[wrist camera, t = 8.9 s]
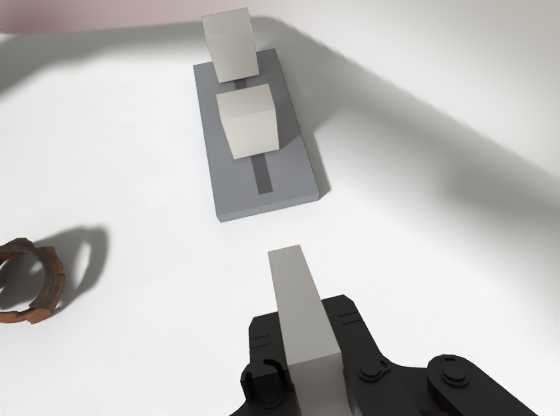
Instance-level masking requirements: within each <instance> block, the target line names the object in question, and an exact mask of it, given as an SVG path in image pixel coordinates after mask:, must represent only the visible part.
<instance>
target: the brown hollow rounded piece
mask: <svg viewBox="0 0 560 416" xmlns="http://www.w3.org/2000/svg"><path fill="white" fill-rule="evenodd" d="M20 253H27V254H30V255H32V256H34V257H36V258H37V259H38V260H39V261H40V262H41V263H42V265H43V267H44V270H45V276H46V278H45V284H44V287H43V289H42V291H41V293H40V294H39V296H38V297H37V298H36V299H35V300H34V301H33V302H32V303H30V304H29V307H31V308H29V309H27V310H25V311H22V312H18V311H9V312H0V323H16V322H22V321H25V320H27V321H29V322H31V324H34V323H38V322H40V321H42V320H44V319H45V318H47V317H49V316H50V315H51V313H52V311H51V310H53V309H55V307H56V305H57V303H58V301H59V299H60V297H61V294H62V291H63V288H64V282H65V275H64V274H62V271H63V269H64V268H63V266H62V263H61V262H60V260H59V259H58V257H57V255H56V253H55V249H54V247H53V246H51V247H40V248H34V244H33V243H32V242H31V241H29V240H28V239H27V238H16V239H14V240H13V241H10V242H8V243H6V244H5V245H2V246H0V266H1V265H2V264H3V263H4V262H5V261H6V260H8V259H9V258H11V257H13V256H15V255H17V254H20Z"/></svg>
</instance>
